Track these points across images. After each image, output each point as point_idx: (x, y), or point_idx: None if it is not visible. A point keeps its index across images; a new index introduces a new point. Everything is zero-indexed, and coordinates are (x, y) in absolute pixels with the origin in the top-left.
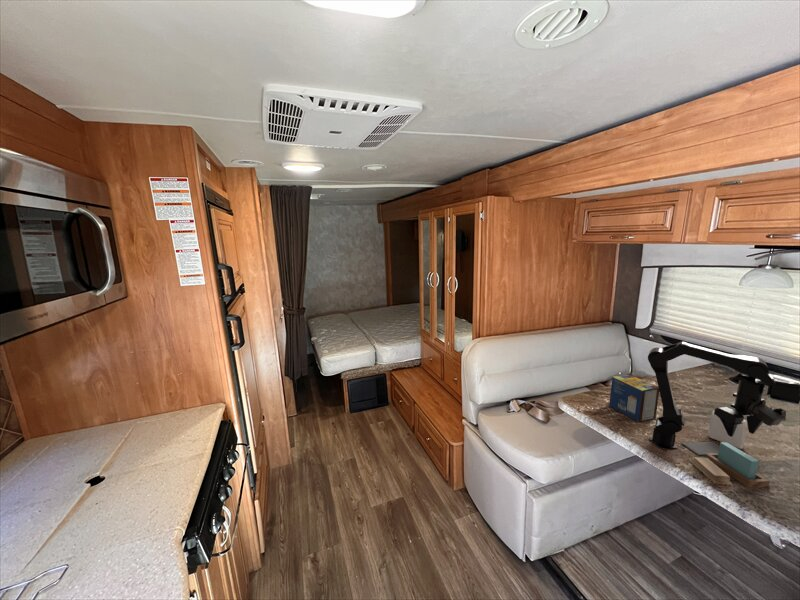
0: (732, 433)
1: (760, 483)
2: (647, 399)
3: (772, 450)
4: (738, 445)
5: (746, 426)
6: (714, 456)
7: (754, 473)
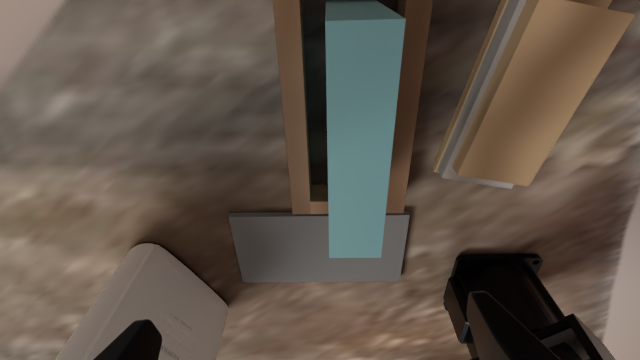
0: (539, 340)
1: None
2: None
3: (2, 228)
4: (155, 256)
5: None
6: None
7: (338, 6)
